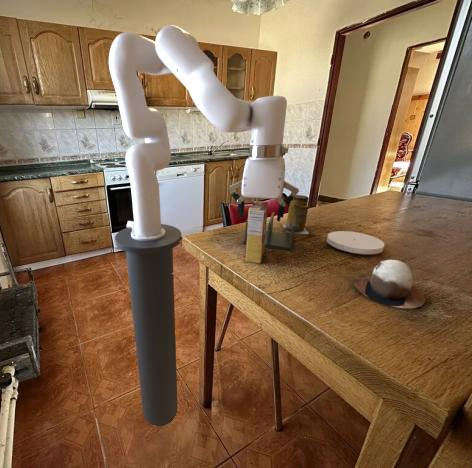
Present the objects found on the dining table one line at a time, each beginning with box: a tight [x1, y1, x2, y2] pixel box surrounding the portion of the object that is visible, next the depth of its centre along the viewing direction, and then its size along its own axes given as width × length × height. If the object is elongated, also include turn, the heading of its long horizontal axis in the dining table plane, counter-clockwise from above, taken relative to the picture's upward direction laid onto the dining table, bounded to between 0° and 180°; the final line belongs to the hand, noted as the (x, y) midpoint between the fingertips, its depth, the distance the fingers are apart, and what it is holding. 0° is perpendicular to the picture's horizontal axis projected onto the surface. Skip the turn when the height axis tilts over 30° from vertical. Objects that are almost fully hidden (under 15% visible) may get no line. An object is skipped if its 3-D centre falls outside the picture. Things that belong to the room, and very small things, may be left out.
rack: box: [243, 211, 296, 252], centre depth 83 cm, size 14×12×8 cm
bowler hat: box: [353, 259, 426, 309], centre depth 56 cm, size 12×10×10 cm
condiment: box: [282, 194, 310, 235], centre depth 90 cm, size 7×8×12 cm
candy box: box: [245, 200, 269, 265], centre depth 71 cm, size 9×4×15 cm, turn 154°
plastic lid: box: [326, 230, 386, 255], centre depth 77 cm, size 14×14×2 cm
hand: (259, 218), depth 70 cm, fingers open, 9 cm apart
